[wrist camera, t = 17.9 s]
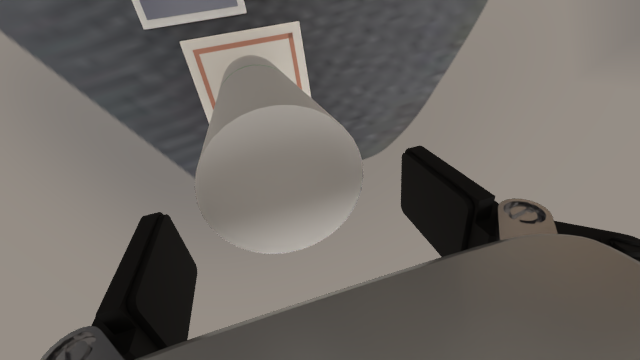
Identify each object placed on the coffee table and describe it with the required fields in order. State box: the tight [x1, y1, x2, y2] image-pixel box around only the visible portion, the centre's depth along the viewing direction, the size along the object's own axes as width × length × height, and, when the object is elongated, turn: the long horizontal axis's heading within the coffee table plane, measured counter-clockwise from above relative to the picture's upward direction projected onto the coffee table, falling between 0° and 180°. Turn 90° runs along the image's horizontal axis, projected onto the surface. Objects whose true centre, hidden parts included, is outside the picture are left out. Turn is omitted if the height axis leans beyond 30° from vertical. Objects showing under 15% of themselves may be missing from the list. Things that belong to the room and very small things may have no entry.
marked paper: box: [179, 21, 311, 124], centre depth 34 cm, size 13×13×1 cm
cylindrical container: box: [195, 55, 363, 254], centre depth 23 cm, size 7×7×25 cm
